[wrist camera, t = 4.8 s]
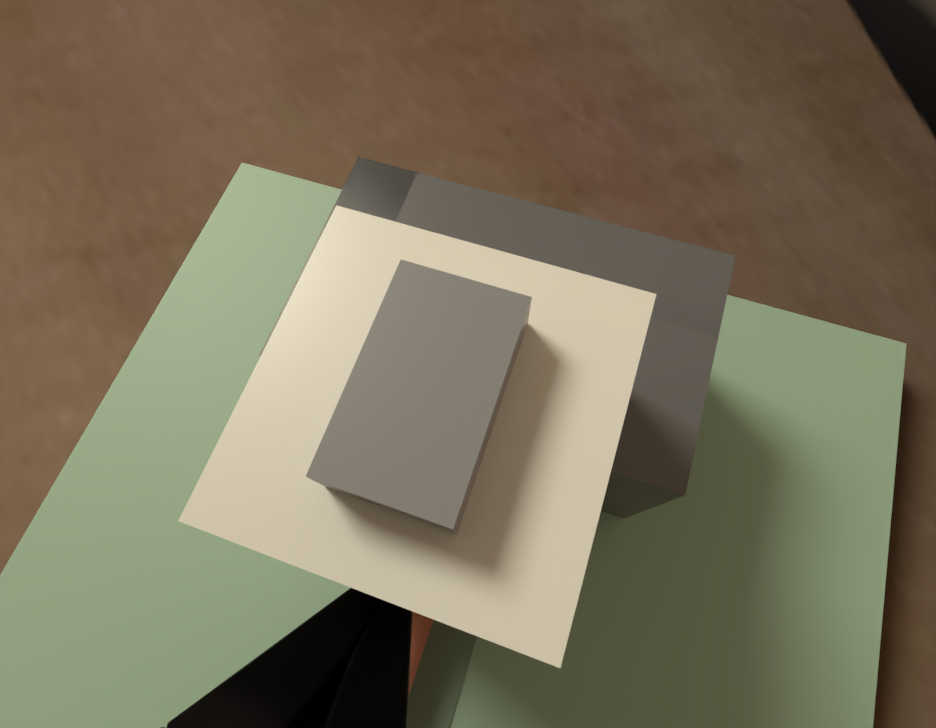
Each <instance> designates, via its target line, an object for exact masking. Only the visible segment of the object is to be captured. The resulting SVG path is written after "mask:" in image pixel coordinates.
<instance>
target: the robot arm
mask: <svg viewBox="0 0 936 728" xmlns="http://www.w3.org/2000/svg"><path fill="white" fill-rule="evenodd" d="M412 618H413V611H410V610H408V609H405V608H402V607H400V606H397V605H395V604H392V603H389V602H387V601H384V600H382V599H379V598H376V597H374V596H371V595H369V594H366V593H363V592H361V591H358V590H356V589H353V588H350V589H348V590H347V591H346V592H344V593H343V594H342V595H340V596H339V597H338V598H336V599H335V600H333V601H332V602H331V603H329V604H328V605H327V606H325V607H324V608H323V609H321V610H320V611H319V612H317V613H316V614H314V615H313V616H312V617H310V618H309V619H308V620H306V621H305V622H304V623H302V624H301V625H300V626H298V627H297V628H295V629H294V630H293V631H291V632H290V633H289V634H287V635H286V636H285V637H283V638H282V639H281V640H279V641H278V642H276V643H275V644H274V645H272V646H271V647H270V648H268V649H267V650H266V651H264V652H263V653H262V654H260V655H259V656H257V657H256V658H255V659H253V660H252V661H251V662H249V663H248V664H247V665H245V666H244V667H243V668H241V669H240V670H238V671H237V672H236V673H234V674H233V675H232V676H230V677H229V678H228V679H226V680H225V681H224V682H222V683H221V684H219V685H218V686H217V687H215V688H214V689H213V690H211V691H210V692H209V693H207V694H206V695H205V696H203V697H202V698H200V699H199V700H198V701H196V702H195V703H194V704H192V705H191V706H190V707H188V708H187V709H186V710H184V711H183V712H181V713H180V714H179V715H177V716H176V717H175V718H173V719H172V720H171V721H169V722H168V724H167V727H166V728H407V712H408V693H409V674H410V656H411V637H412ZM161 728H165V727H161Z"/></svg>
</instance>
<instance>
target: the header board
mask: <svg viewBox="0 0 936 728" xmlns="http://www.w3.org/2000/svg"><path fill="white" fill-rule="evenodd" d="M341 191H342V190H341V189H337V188H333V187H329V186H326V185H322V184H318V183H315V182H311V181H307V180H304V179H300V178H296V177H293V176H289V175H285V174H282V173H278V172H274V171H271V170H267V169H263V168H260V167H256V166H252V165H249V164H245V163H241V165H240V167H239V169H238V170H237V172H236V174H235V175H234V177H233V179H232V180H231V182H230V184H229V186H228V187H227V189H226V191H225V192H224V194H223V196H222V198H221V199H220V201H219V203H218V204H217V206H216V208H215V210H214V211H213V213H212V215H211V216H210V218H209V220H208V221H207V223H206V225H205V227H204V228H203V230H202V232H201V233H200V235H199V237H198V239H197V240H196V242H195V244H194V245H193V247H192V249H191V250H190V252H189V254H188V256H187V257H186V259H185V261H184V262H183V264H182V266H181V268H180V269H179V271H178V273H177V274H176V276H175V278H174V279H173V281H172V283H171V285H170V286H169V288H168V290H167V291H166V293H165V295H164V297H163V298H162V300H161V302H160V303H159V305H158V307H157V308H156V310H155V312H154V314H153V315H152V317H151V319H150V320H149V322H148V324H147V326H146V327H145V329H144V331H143V332H142V334H141V336H140V338H139V339H138V341H137V343H136V344H135V346H134V348H133V349H132V351H131V353H130V355H129V356H128V358H127V360H126V361H125V363H124V365H123V367H122V368H121V370H120V372H119V373H118V375H117V377H116V378H115V380H114V382H113V384H112V385H111V387H110V389H109V390H108V392H107V394H106V396H105V397H104V399H103V401H102V402H101V404H100V406H99V407H98V409H97V411H96V413H95V414H94V416H93V418H92V419H91V421H90V423H89V425H88V426H87V428H86V430H85V431H84V433H83V435H82V436H81V438H80V440H79V442H78V443H77V445H76V447H75V448H74V450H73V452H72V454H71V455H70V457H69V459H68V460H67V462H66V464H65V466H64V467H63V469H62V471H61V472H60V474H59V476H58V477H57V479H56V481H55V483H54V484H53V486H52V488H51V489H50V491H49V493H48V495H47V496H46V498H45V500H44V501H43V503H42V505H41V506H40V508H39V510H38V512H37V513H36V515H35V517H34V518H33V520H32V522H31V524H30V525H29V527H28V529H27V530H26V532H25V534H24V535H23V537H22V539H21V541H20V542H19V544H18V546H17V547H16V549H15V551H14V553H13V554H12V556H11V558H10V559H9V561H8V563H7V565H6V566H5V568H4V570H3V571H2V573H1V575H0V728H161V727H165V728H166V727H167V724H168V722H169V721H171V720H172V719H173V718H175V717H176V716H177V715H179V714H180V713H181V712H183V711H184V710H186V709H187V708H188V707H190V706H191V705H192V704H194V703H195V702H196V701H198V700H199V699H200V698H202V697H203V696H205V695H206V694H207V693H209V692H210V691H211V690H213V689H214V688H215V687H217V686H218V685H219V684H221V683H222V682H224V681H225V680H226V679H228V678H229V677H230V676H232V675H233V674H234V673H236V672H237V671H238V670H240V669H241V668H243V667H244V666H245V665H247V664H248V663H249V662H251V661H252V660H253V659H255V658H256V657H257V656H259V655H260V654H262V653H263V652H264V651H266V650H267V649H268V648H270V647H271V646H272V645H274V644H275V643H276V642H278V641H279V640H281V639H282V638H283V637H285V636H286V635H287V634H289V633H290V632H291V631H293V630H294V629H295V628H297V627H298V626H300V625H301V624H302V623H304V622H305V621H306V620H308V619H309V618H310V617H312V616H313V615H314V614H316V613H317V612H319V611H320V610H321V609H323V608H324V607H325V606H327V605H328V604H329V603H331V602H332V601H333V600H335V599H336V598H338V597H339V596H340V595H342V594H343V593H344V592H346V591H347V590H348V589H350V587H348V586H345V585H343V584H340V583H337V582H335V581H332V580H330V579H327V578H325V577H322V576H319V575H317V574H314V573H312V572H309V571H306V570H304V569H301V568H299V567H296V566H293V565H291V564H288V563H286V562H283V561H280V560H278V559H275V558H273V557H270V556H267V555H265V554H262V553H260V552H257V551H254V550H252V549H249V548H247V547H244V546H241V545H239V544H236V543H234V542H231V541H229V540H226V539H223V538H221V537H218V536H216V535H213V534H210V533H208V532H205V531H203V530H200V529H197V528H195V527H192V526H190V525H187V524H184V523H182V522H179V521H178V520H179V518H180V516H181V514H182V512H183V510H184V508H185V506H186V504H187V502H188V500H189V498H190V496H191V494H192V492H193V490H194V488H195V486H196V484H197V482H198V480H199V478H200V476H201V474H202V472H203V470H204V468H205V466H206V464H207V462H208V460H209V458H210V456H211V454H212V452H213V450H214V448H215V446H216V444H217V442H218V440H219V438H220V436H221V434H222V432H223V430H224V428H225V426H226V424H227V422H228V420H229V418H230V416H231V414H232V412H233V410H234V408H235V406H236V404H237V402H238V400H239V398H240V396H241V394H242V392H243V390H244V388H245V386H246V384H247V382H248V380H249V378H250V376H251V374H252V372H253V370H254V368H255V367H256V365H257V363H258V361H259V359H260V356H259V354H260V352H261V350H262V348H263V346H264V344H265V342H266V340H267V338H268V336H269V334H270V332H271V330H272V328H273V326H274V324H275V322H276V320H277V318H278V316H279V314H280V312H281V310H282V309H283V307H284V305H285V303H286V301H287V299H288V297H289V295H290V293H291V291H292V289H293V287H294V285H295V283H296V281H297V279H298V277H299V275H300V273H301V271H302V269H303V267H304V265H305V263H306V261H307V259H308V257H309V255H310V253H311V251H312V249H313V247H314V245H315V243H316V241H317V239H318V237H319V235H320V233H321V231H322V229H323V227H324V225H325V223H326V221H327V219H328V217H329V215H330V213H331V211H332V209H333V207H334V205H335V203H336V201H337V199H338V197H339V195H340V193H341ZM905 353H906V343H902V342H899V341H895V340H891V339H888V338H884V337H880V336H877V335H873V334H869V333H865V332H862V331H858V330H854V329H851V328H847V327H843V326H840V325H836V324H832V323H829V322H825V321H821V320H818V319H814V318H810V317H807V316H803V315H799V314H796V313H792V312H788V311H785V310H781V309H777V308H774V307H770V306H766V305H763V304H759V303H755V302H752V301H748V300H744V299H741V298H737V297H733V296H730V295H727V299H726V303H725V308H724V313H723V318H722V322H721V327H720V332H719V337H718V342H717V346H716V351H715V356H714V361H713V365H712V370H711V375H710V380H709V385H708V389H707V394H706V399H705V404H704V408H703V413H702V418H701V423H700V428H699V432H698V437H697V442H696V447H695V451H694V456H693V461H692V466H691V470H690V475H689V480H688V485H687V490H686V494H685V495H684V496H682V497H679V498H676V499H674V500H671V501H669V502H666V503H663V504H661V505H658V506H656V507H653V508H650V509H648V510H645V511H643V512H640V513H637V514H635V515H632V516H630V517H627V518H624V519H623V518H620V517H617V516H615V515H612V514H609V513H606V512H603V511H601V512H600V516H599V520H598V524H597V528H596V532H595V536H594V540H593V543H592V547H591V551H590V555H589V559H588V563H587V567H586V571H585V575H584V578H583V582H582V586H581V590H580V594H579V598H578V602H577V606H576V610H575V614H574V617H573V621H572V625H571V629H570V633H569V637H568V641H567V645H566V649H565V652H564V656H563V660H562V664H561V668H558V667H555V666H553V665H550V664H548V663H545V662H542V661H540V660H537V659H535V658H532V657H529V656H527V655H524V654H522V653H519V652H517V651H514V650H511V649H509V648H506V647H504V646H501V645H498V644H496V643H493V642H491V641H488V640H485V639H483V638H480V637H478V636H475V635H472V634H470V633H467V632H465V631H462V630H459V629H457V628H454V627H452V626H449V625H446V624H444V623H441V622H439V621H436V620H434V622H433V625H432V628H431V631H430V634H429V637H428V640H427V643H426V646H425V649H424V652H423V655H422V658H421V661H420V664H419V667H418V670H417V673H416V676H415V679H414V682H413V685H412V688H411V691H410V694H409V697H408V712H407V728H873V722H874V710H875V699H876V687H877V676H878V664H879V653H880V641H881V630H882V618H883V607H884V595H885V584H886V572H887V561H888V549H889V538H890V526H891V515H892V503H893V492H894V480H895V469H896V457H897V446H898V434H899V422H900V411H901V399H902V388H903V376H904V365H905Z"/></svg>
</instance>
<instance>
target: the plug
mask: <svg viewBox="0 0 936 728" xmlns="http://www.w3.org/2000/svg"><path fill="white" fill-rule="evenodd" d="M655 298H656V294H655V293H651V292H647V291H644V290H640V289H636V288H633V287H629V286H626V285H622V284H618V283H615V282H611V281H608V280H604V279H600V278H597V277H593V276H590V275H586V274H582V273H579V272H575V271H572V270H568V269H564V268H561V267H557V266H554V265H550V264H546V263H543V262H539V261H535V260H532V259H528V258H525V257H521V256H517V255H514V254H510V253H507V252H503V251H499V250H496V249H492V248H489V247H485V246H481V245H478V244H474V243H471V242H467V241H463V240H460V239H456V238H453V237H449V236H445V235H442V234H438V233H434V232H431V231H427V230H424V229H420V228H416V227H413V226H409V225H406V224H402V223H398V222H395V221H391V220H388V219H384V218H380V217H377V216H373V215H370V214H366V213H362V212H359V211H355V210H352V209H348V208H344V207H341V206H337V205H336V207H335V209H334V211H333V213H332V215H331V217H330V219H329V221H328V223H327V225H326V227H325V229H324V231H323V233H322V235H321V237H320V239H319V241H318V243H317V245H316V247H315V249H314V251H313V253H312V255H311V257H310V259H309V261H308V263H307V265H306V267H305V269H304V271H303V273H302V275H301V277H300V279H299V281H298V283H297V285H296V287H295V289H294V291H293V293H292V295H291V297H290V299H289V301H288V303H287V305H286V307H285V309H284V311H283V313H282V315H281V317H280V319H279V321H278V323H277V325H276V327H275V329H274V331H273V333H272V335H271V337H270V339H269V341H268V343H267V345H266V347H265V349H264V351H263V353H262V355H261V357H260V359H259V361H258V363H257V365H256V367H255V368H254V370H253V372H252V374H251V376H250V378H249V380H248V382H247V384H246V386H245V388H244V390H243V392H242V394H241V396H240V398H239V400H238V402H237V404H236V406H235V408H234V410H233V412H232V414H231V416H230V418H229V420H228V422H227V424H226V426H225V428H224V430H223V432H222V434H221V436H220V438H219V440H218V442H217V444H216V446H215V448H214V450H213V452H212V454H211V456H210V458H209V460H208V462H207V464H206V466H205V468H204V470H203V472H202V474H201V476H200V478H199V480H198V482H197V484H196V486H195V488H194V490H193V492H192V494H191V496H190V498H189V500H188V502H187V504H186V506H185V508H184V510H183V512H182V514H181V516H180V518H179V520H178V521H179V522H182V523H184V524H187V525H190V526H192V527H195V528H197V529H200V530H203V531H205V532H208V533H210V534H213V535H216V536H218V537H221V538H223V539H226V540H229V541H231V542H234V543H236V544H239V545H241V546H244V547H247V548H249V549H252V550H254V551H257V552H260V553H262V554H265V555H267V556H270V557H273V558H275V559H278V560H280V561H283V562H286V563H288V564H291V565H293V566H296V567H299V568H301V569H304V570H306V571H309V572H312V573H314V574H317V575H319V576H322V577H325V578H327V579H330V580H332V581H335V582H337V583H340V584H343V585H345V586H348V587H350V588H353V589H356V590H358V591H361V592H363V593H366V594H369V595H371V596H374V597H376V598H379V599H382V600H384V601H387V602H389V603H392V604H395V605H397V606H400V607H402V608H405V609H408V610H410V611H413V618H412V637H411V656H410V674H409V693H408V697H409V694H410V691H411V688H412V685H413V682H414V679H415V676H416V673H417V670H418V667H419V664H420V661H421V658H422V655H423V652H424V649H425V646H426V643H427V640H428V637H429V634H430V631H431V628H432V625H433V622H434V620H436V621H439V622H441V623H444V624H446V625H449V626H452V627H454V628H457V629H459V630H462V631H465V632H467V633H470V634H472V635H475V636H478V637H480V638H483V639H485V640H488V641H491V642H493V643H496V644H498V645H501V646H504V647H506V648H509V649H511V650H514V651H517V652H519V653H522V654H524V655H527V656H529V657H532V658H535V659H537V660H540V661H542V662H545V663H548V664H550V665H553V666H555V667H558V668H561V664H562V660H563V656H564V652H565V649H566V645H567V641H568V637H569V633H570V629H571V625H572V621H573V617H574V614H575V610H576V606H577V602H578V598H579V594H580V590H581V586H582V582H583V578H584V575H585V571H586V567H587V563H588V559H589V555H590V551H591V547H592V543H593V540H594V536H595V532H596V528H597V524H598V520H599V516H600V512H601V508H602V505H603V501H604V497H605V493H606V489H607V485H608V481H609V477H610V473H611V469H612V466H613V462H614V458H615V454H616V450H617V446H618V442H619V438H620V434H621V431H622V427H623V423H624V419H625V415H626V411H627V407H628V403H629V399H630V396H631V392H632V388H633V384H634V380H635V376H636V372H637V368H638V364H639V360H640V357H641V353H642V349H643V345H644V341H645V337H646V333H647V329H648V325H649V322H650V318H651V314H652V310H653V306H654V302H655Z"/></svg>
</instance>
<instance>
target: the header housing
mask: <svg viewBox="0 0 936 728" xmlns="http://www.w3.org/2000/svg"><path fill="white" fill-rule="evenodd" d="M336 205H337V206H341V207H344V208H348V209H352V210H355V211H359V212H362V213H366V214H370V215H373V216H377V217H380V218H384V219H388V220H391V221H395V222H398V223H402V224H406V225H409V226H413V227H416V228H420V229H424V230H427V231H431V232H434V233H438V234H442V235H445V236H449V237H453V238H456V239H460V240H463V241H467V242H471V243H474V244H478V245H481V246H485V247H489V248H492V249H496V250H499V251H503V252H507V253H510V254H514V255H517V256H521V257H525V258H528V259H532V260H535V261H539V262H543V263H546V264H550V265H554V266H557V267H561V268H564V269H568V270H572V271H575V272H579V273H582V274H586V275H590V276H593V277H597V278H600V279H604V280H608V281H611V282H615V283H618V284H622V285H626V286H629V287H633V288H636V289H640V290H644V291H647V292H651V293H655V294H656V298H655V302H654V306H653V310H652V314H651V318H650V322H649V325H648V329H647V333H646V337H645V341H644V345H643V349H642V353H641V357H640V360H639V364H638V368H637V372H636V376H635V380H634V384H633V388H632V392H631V396H630V399H629V403H628V407H627V411H626V415H625V419H624V423H623V427H622V431H621V434H620V438H619V442H618V446H617V450H616V454H615V458H614V462H613V466H612V469H611V473H610V477H609V481H608V485H607V489H606V493H605V497H604V501H603V505H602V508H601V511H603V512H606V513H609V514H612V515H615V516H617V517H620V518H623V519H624V518H627V517H630V516H632V515H635V514H637V513H640V512H643V511H645V510H648V509H650V508H653V507H656V506H658V505H661V504H663V503H666V502H669V501H671V500H674V499H676V498H679V497H682V496H684V495H685V494H686V490H687V485H688V480H689V475H690V470H691V466H692V461H693V456H694V451H695V447H696V442H697V437H698V432H699V428H700V423H701V418H702V413H703V408H704V404H705V399H706V394H707V389H708V385H709V380H710V375H711V370H712V365H713V361H714V356H715V351H716V346H717V342H718V337H719V332H720V327H721V322H722V318H723V313H724V308H725V303H726V299H727V294H728V289H729V284H730V279H731V275H732V270H733V265H734V260H735V256H734V255H730V254H727V253H723V252H719V251H715V250H711V249H707V248H704V247H700V246H696V245H692V244H688V243H684V242H681V241H677V240H673V239H669V238H665V237H662V236H658V235H654V234H650V233H646V232H642V231H639V230H635V229H631V228H627V227H623V226H620V225H616V224H612V223H608V222H604V221H600V220H597V219H593V218H589V217H585V216H581V215H578V214H574V213H570V212H566V211H562V210H558V209H555V208H551V207H547V206H543V205H539V204H536V203H532V202H528V201H524V200H520V199H516V198H513V197H509V196H505V195H501V194H497V193H493V192H490V191H486V190H482V189H478V188H474V187H471V186H467V185H463V184H459V183H455V182H451V181H448V180H444V179H440V178H436V177H432V176H429V175H425V174H421V173H417V172H413V171H409V170H406V169H402V168H398V167H394V166H390V165H387V164H383V163H379V162H375V161H371V160H367V159H364V158H360V157H358V159H357V161H356V163H355V165H354V167H353V169H352V171H351V173H350V175H349V177H348V179H347V181H346V183H345V185H344V187H343V189H342V191H341V193H340V195H339V197H338V199H337V201H336V203H335V205H334V207H333V209H332V211H331V213H330V215H329V217H328V219H327V221H326V223H325V225H324V227H323V229H322V231H321V233H320V235H319V237H318V239H317V241H316V243H315V245H314V247H313V249H312V251H311V253H310V255H309V257H308V259H307V261H306V263H305V265H304V267H303V269H302V271H301V273H300V275H299V277H298V279H297V281H296V283H295V285H294V287H293V289H292V291H291V293H290V295H289V297H288V299H287V301H286V303H285V305H284V307H283V309H282V310H281V312H280V314H279V316H278V318H277V320H276V322H275V324H274V326H273V328H272V330H271V332H270V334H269V336H268V338H267V340H266V342H265V344H264V346H263V348H262V350H261V352H260V354H259V356H260V357H261V355H262V353H263V351H264V349H265V347H266V345H267V343H268V341H269V339H270V337H271V335H272V333H273V331H274V329H275V327H276V325H277V323H278V321H279V319H280V317H281V315H282V313H283V311H284V309H285V307H286V305H287V303H288V301H289V299H290V297H291V295H292V293H293V291H294V289H295V287H296V285H297V283H298V281H299V279H300V277H301V275H302V273H303V271H304V269H305V267H306V265H307V263H308V261H309V259H310V257H311V255H312V253H313V251H314V249H315V247H316V245H317V243H318V241H319V239H320V237H321V235H322V233H323V231H324V229H325V227H326V225H327V223H328V221H329V219H330V217H331V215H332V213H333V211H334V209H335V207H336Z"/></svg>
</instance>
